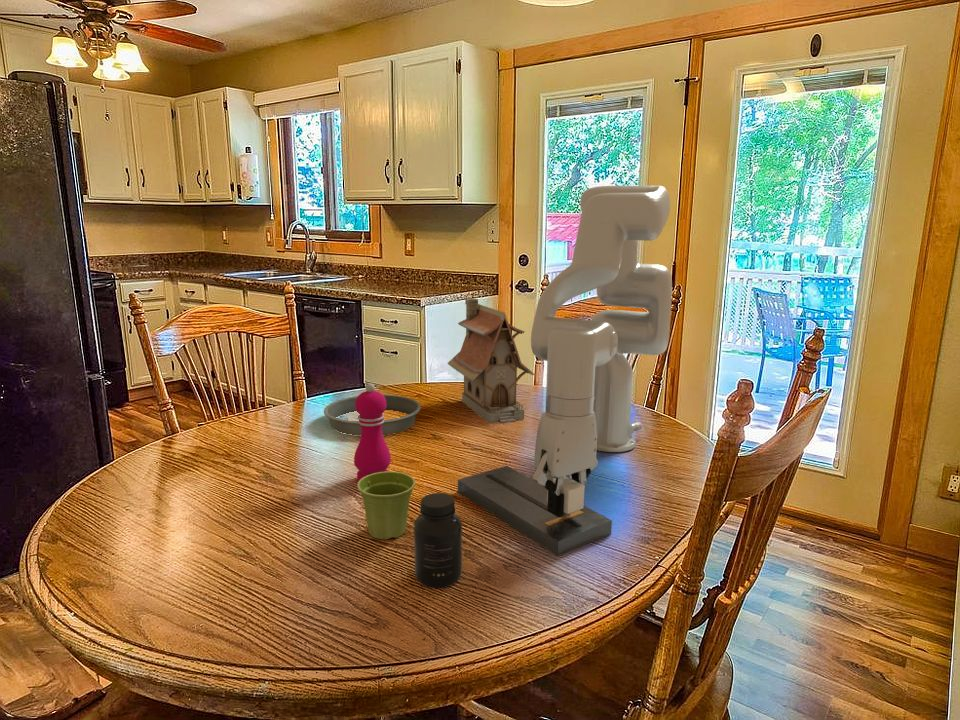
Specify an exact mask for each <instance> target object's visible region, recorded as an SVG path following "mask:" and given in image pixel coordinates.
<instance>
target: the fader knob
mask: <svg viewBox="0 0 960 720" xmlns="http://www.w3.org/2000/svg"><path fill="white" fill-rule="evenodd" d="M555 482H556V479H555V478H554V479H553V483H554V484H555ZM561 493H562V494H564V509H563V512H564V514H563V516H565V517H567V516H570V513H572V512H575V511H577V510H580V509H583V506H585V505H584V502H585V487H584V485H582V484H580V483H578V482H576V481H574V480H572V479H570V477H568V476H564V480H563V486H562V492H561ZM547 503H548V490H547Z"/></svg>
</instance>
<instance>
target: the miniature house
mask: <svg viewBox="0 0 960 720" xmlns="http://www.w3.org/2000/svg"><path fill="white" fill-rule="evenodd" d="M464 301H465V303H464V304H465V308H466V309H465V311H466V312H465V314H466V315H465V316H466V317H465V319H463V320H461V321H459V322H457V324H458V325H459V326H460V327H462V328H464V329H465V336H464V340H463V342H462V345H461V348H460V351H459V352H458V353H457V354H455V356H454V357H452V358H451V359H450V360H449V361H448V362H447V365H449V366H450V367H451V368H452V369H454V370H455V371H457V372H458V373H460V374H461V375H462V376H463V392H462V393H461V402H462V403H463V404H464V403H465V404H466V405H467V406H466V405H465V404H464V405H465V406H466V407H467V408H469V409H470V408H471V409H472V410H471V409H470V410H471V411H472V412H474V413H475V414H476V413H477V415H478V416H479V417H480V418H481V419H482V420H484V421H485V422H486V423H487V424H489V425H490V424H497V423H499V424H509V422H510V423H516V421H515V420H517V421H524V420H525V409H524V408H523V406H524V404H522V403H521V402H519V401H518V400H517V383H518V382H519V380H520V379H521V378H522V377H523V376H524V375H526V374H529V375H531V376H535V373H534V372H533V371H532V370H531V369H529V368H528V367H527V366H525V364H523V363H522V360H521V357H520V354H519V351H518V348H517V346H516V342H515V338H516V337H517V336H518V335H523V334H525V332H526V331H524V330H522V329H519V328H517V327H515V326H513V325H511V324H510V323H509V321H508V318H507V316H506V315H507V314H506V312H504V311H501V310H497V309H495V308H491V307H488V306H485V305H483V304H480V303H479V299H478V298H475V297H473V298H465V300H464ZM512 331H513V332H515V333H513V332H512ZM512 333H513V334H512ZM518 369H520V370H521V371H522V372H521V373H520V374H519V375H518ZM517 375H518V376H517ZM523 419H524V420H523Z"/></svg>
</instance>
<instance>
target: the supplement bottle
mask: <svg viewBox="0 0 960 720" xmlns="http://www.w3.org/2000/svg"><path fill="white" fill-rule="evenodd" d="M455 505H456V504H455V498H454V497H453V496H452V495H450V494H447V493H442V492H439V493H438V492H435V493H429V494H426V495H425V496H423V497H422V498H421V499H420V509H419V511H420V514H419V515H418V516H417V517H416V519H415V520H414V523H413V524H414V525H413V526H414V527H413V537H414V538H413V539H414V541H413V543H414V573H415V578H416V580H417V581H418V582H419V583H420V584H422V585H423V586H425V587H428V588H434V589H435V588H436V589H441V588H446V587H449V586H450V587H451V586H452V585H454V584H455V583H457V582H458V581H459V579H460V578H461V576H462V573H463V556H462V555H463V527H462V524H463V523H462V520H461V518H460V516H459V515H457V513H456V506H455Z"/></svg>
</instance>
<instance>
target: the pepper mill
mask: <svg viewBox="0 0 960 720" xmlns="http://www.w3.org/2000/svg"><path fill="white" fill-rule="evenodd" d="M375 389H376V387H375V384H374V383H372V382H370V383H367V384H366V385H365V391H363V392H361V393H359V395H357V396H358V397H357V399H356V402H355V408H356V411H357V412H358V413H359V414H360V415H359V416H358V419H359V421H358V423H359V424H360V425H361V436H360V438H359V442H358V445H357V447H356V450H355V453H354V457H353V464H354V466H355V468H356V469H357V470H358V471H357V472H356V481H357V483H358V482H359V480H361V479H362V478H363V477H365V476H367V475H370V474H373V473H378V472H388V471H389V469H388V467H389V466H390V465H391V461H392V457H391V452H390V449H389V447H388V445H387V443H386V440H385V438H384V436H383V434H382V424H383V423H384V415H383V414H382V413H383V412H384V411H385V409H386V399H385V397H384V396H383V395H384V394H383V393H381V392H380V391H377V390H375Z"/></svg>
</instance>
